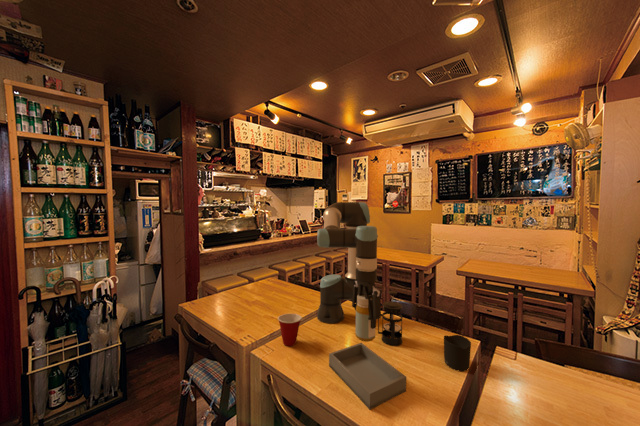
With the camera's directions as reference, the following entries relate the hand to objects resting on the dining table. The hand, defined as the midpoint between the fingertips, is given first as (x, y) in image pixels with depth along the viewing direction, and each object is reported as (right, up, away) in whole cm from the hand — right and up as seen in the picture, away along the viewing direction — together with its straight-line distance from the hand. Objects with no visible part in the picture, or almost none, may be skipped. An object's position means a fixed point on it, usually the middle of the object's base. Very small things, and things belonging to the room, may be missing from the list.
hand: (365, 332), depth 91 cm
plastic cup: (-30, -16, +24) cm, 42 cm away
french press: (+17, -16, +26) cm, 35 cm away
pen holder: (+38, -17, +9) cm, 42 cm away
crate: (0, -17, +1) cm, 17 cm away
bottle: (0, -2, 0) cm, 2 cm away
